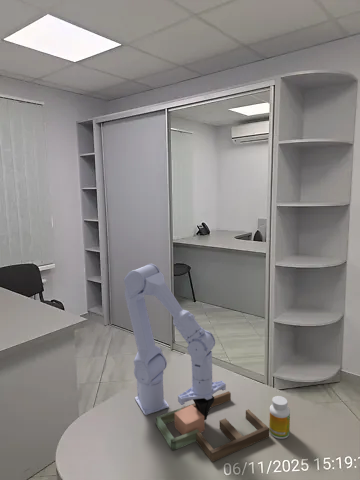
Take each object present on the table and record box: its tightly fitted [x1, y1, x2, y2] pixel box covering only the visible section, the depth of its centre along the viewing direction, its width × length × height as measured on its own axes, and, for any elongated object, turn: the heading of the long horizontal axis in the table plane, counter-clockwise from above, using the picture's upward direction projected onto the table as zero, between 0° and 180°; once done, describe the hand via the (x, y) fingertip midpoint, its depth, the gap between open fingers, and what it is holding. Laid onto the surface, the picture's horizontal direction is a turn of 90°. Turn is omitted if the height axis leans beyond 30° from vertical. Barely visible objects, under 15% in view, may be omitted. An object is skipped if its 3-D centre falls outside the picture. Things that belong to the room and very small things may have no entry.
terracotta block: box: [174, 404, 206, 435], centre depth 98 cm, size 6×6×4 cm
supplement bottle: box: [268, 395, 291, 440], centre depth 95 cm, size 5×5×10 cm
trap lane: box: [155, 391, 270, 463], centre depth 97 cm, size 19×25×2 cm
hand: (202, 418), depth 100 cm, fingers closed
